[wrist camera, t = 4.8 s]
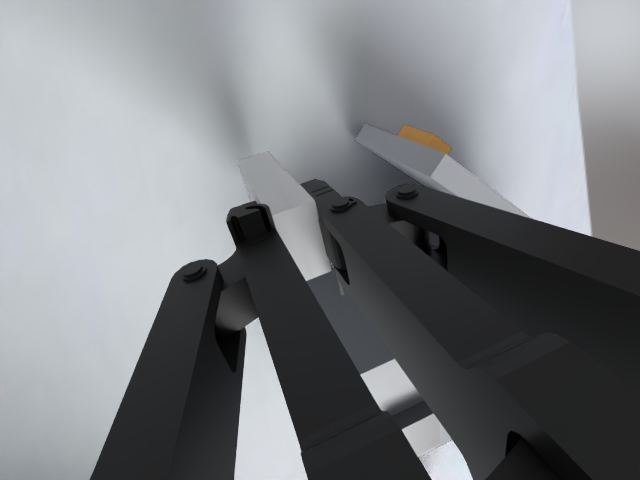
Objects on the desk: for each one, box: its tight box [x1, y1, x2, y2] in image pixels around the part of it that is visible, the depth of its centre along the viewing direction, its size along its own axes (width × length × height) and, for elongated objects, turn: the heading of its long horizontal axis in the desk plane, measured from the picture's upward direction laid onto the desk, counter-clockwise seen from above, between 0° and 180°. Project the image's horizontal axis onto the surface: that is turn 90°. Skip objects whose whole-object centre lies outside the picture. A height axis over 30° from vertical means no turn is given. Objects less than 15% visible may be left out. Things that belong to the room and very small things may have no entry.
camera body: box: [306, 232, 452, 458], centre depth 23 cm, size 14×9×9 cm, turn 102°
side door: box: [355, 124, 532, 219], centre depth 19 cm, size 11×2×8 cm, turn 57°
